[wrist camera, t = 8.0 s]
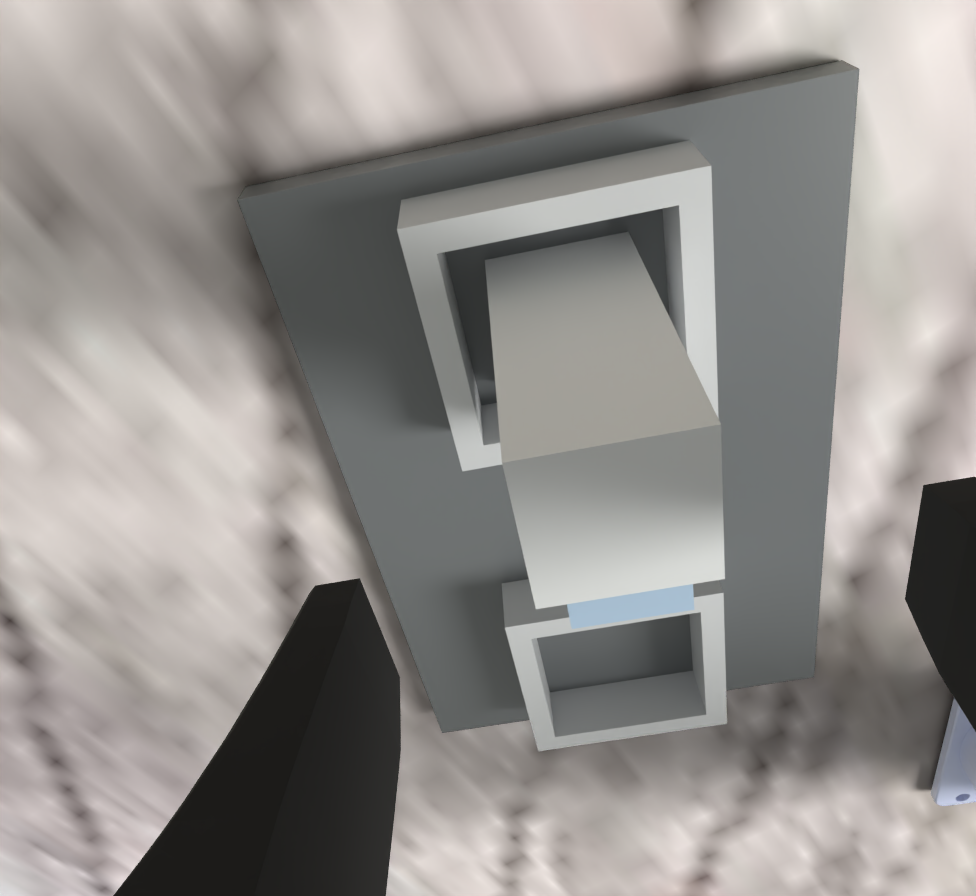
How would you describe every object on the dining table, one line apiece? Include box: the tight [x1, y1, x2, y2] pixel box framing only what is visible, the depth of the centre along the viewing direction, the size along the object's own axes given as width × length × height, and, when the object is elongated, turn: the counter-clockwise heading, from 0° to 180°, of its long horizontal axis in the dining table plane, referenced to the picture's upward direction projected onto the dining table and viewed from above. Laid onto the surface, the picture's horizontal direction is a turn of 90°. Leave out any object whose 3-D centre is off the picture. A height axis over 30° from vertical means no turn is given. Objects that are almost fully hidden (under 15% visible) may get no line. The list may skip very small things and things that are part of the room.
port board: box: [237, 60, 859, 751], centre depth 20 cm, size 12×18×2 cm, turn 11°
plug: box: [485, 232, 725, 629], centre depth 15 cm, size 3×4×7 cm
